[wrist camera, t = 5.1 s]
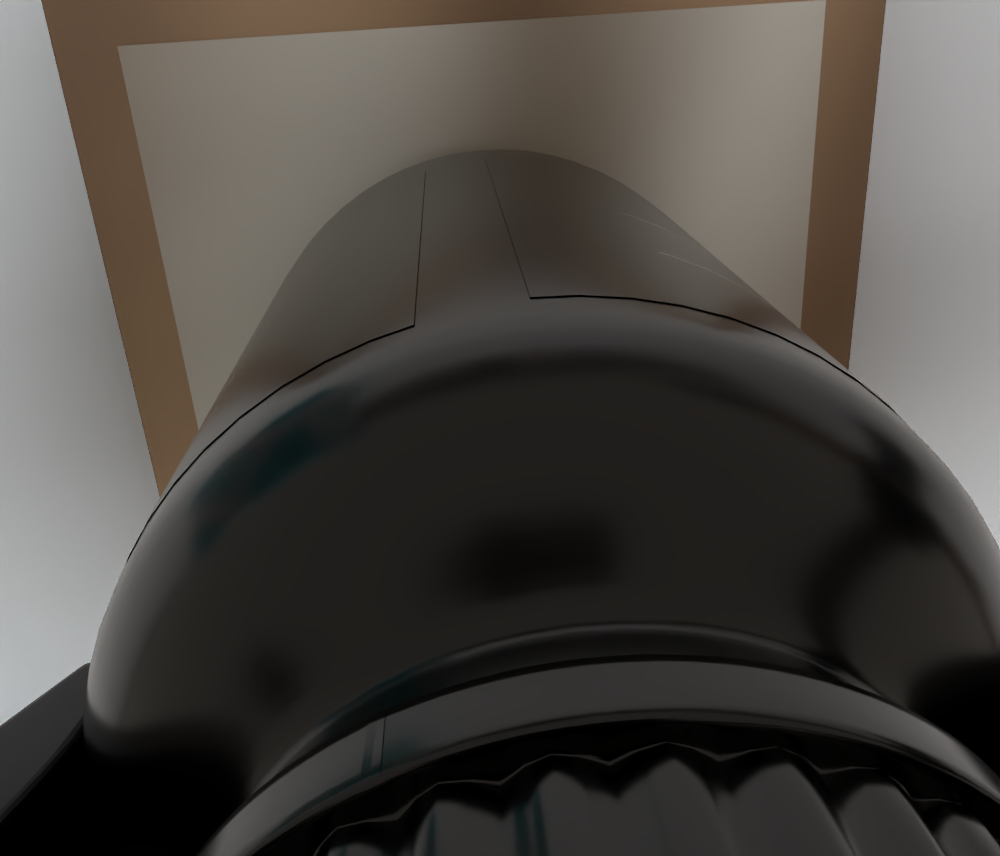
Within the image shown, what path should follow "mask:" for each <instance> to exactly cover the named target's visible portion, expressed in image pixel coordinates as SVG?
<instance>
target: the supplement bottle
mask: <svg viewBox="0 0 1000 856" xmlns="http://www.w3.org/2000/svg"><path fill="white" fill-rule="evenodd" d="M83 732H84V764H85V774H86V781H87V787H88V794H89V801H90V807H91V812H92V817H93V822H94V825H95V829H96V832H97V836H98V839H99V843H100V846H101V850H102V853H103V856H1000V550H999V547H998V545H997V543H996V541H995V539H994V537H993V535H992V534H991V532H990V530H989V528H988V526H987V525H986V523H985V521H984V519H983V518H982V516H981V514H980V512H979V511H978V509H977V507H976V505H975V503H974V502H973V500H972V499H971V497H970V496H969V495H968V493H967V492H966V491H965V489H964V488H963V487H962V485H961V484H960V483H959V481H958V480H957V479H956V477H955V476H954V475H953V473H952V472H951V471H950V469H949V468H948V467H947V466H946V465H945V463H944V462H943V461H942V460H941V459H940V458H939V457H938V456H937V455H936V454H935V453H934V452H933V450H932V449H931V448H930V447H929V446H928V445H927V444H926V443H925V442H924V441H923V440H922V439H921V438H920V437H919V436H918V435H917V434H916V433H915V432H914V431H913V430H912V429H911V428H910V427H909V426H908V425H907V424H906V422H905V421H903V420H902V419H901V418H900V417H899V416H898V414H897V413H896V412H895V411H894V410H893V409H892V408H891V407H890V406H889V405H888V404H887V403H885V402H884V401H883V400H882V399H881V398H880V397H879V396H878V395H876V394H875V393H874V392H873V391H872V390H871V389H869V388H868V387H867V386H866V385H865V384H864V383H862V382H861V381H860V380H859V379H858V378H857V377H855V376H854V375H853V374H852V373H851V372H850V371H848V370H847V369H846V368H845V367H844V366H843V365H841V364H840V363H839V362H838V361H837V360H836V359H834V358H833V357H832V356H831V355H830V354H829V353H827V352H826V351H825V350H824V349H823V348H822V347H820V346H819V345H818V344H817V343H816V342H814V341H813V340H812V339H811V338H810V337H809V336H807V335H806V334H805V333H804V332H803V331H802V330H800V329H799V328H798V327H797V326H796V325H795V324H793V323H792V322H791V321H790V320H789V319H788V318H786V317H785V316H784V315H783V314H782V313H780V312H779V311H778V310H777V309H776V308H775V307H773V306H772V305H771V304H770V303H769V302H768V301H766V300H765V299H764V298H763V297H762V296H761V295H759V294H758V293H757V292H756V291H755V290H753V289H752V288H751V287H750V286H749V285H748V284H746V283H745V282H744V281H743V280H742V279H741V278H739V277H738V276H737V275H736V274H735V273H734V272H732V271H731V270H730V269H729V268H728V267H727V266H725V265H724V264H723V263H722V262H721V261H719V260H718V259H717V258H716V257H715V256H714V255H712V254H711V253H710V252H709V251H708V250H707V249H705V248H704V247H703V246H702V245H701V244H700V243H698V242H697V241H696V240H695V239H694V238H693V237H691V236H690V235H689V234H688V233H687V232H685V231H684V230H683V229H682V228H681V227H680V226H678V225H677V224H676V223H675V222H674V221H673V220H671V219H670V218H669V217H668V216H666V215H665V214H664V213H663V212H662V211H660V210H659V209H658V208H657V207H655V206H654V205H653V204H651V203H650V202H648V201H647V200H646V199H645V198H643V197H642V196H641V195H639V194H638V193H636V192H635V191H633V190H632V189H630V188H628V187H627V186H625V185H624V184H622V183H621V182H619V181H617V180H615V179H613V178H611V177H609V176H608V175H606V174H604V173H602V172H600V171H598V170H595V169H592V168H590V167H587V166H585V165H582V164H580V163H577V162H574V161H571V160H567V159H564V158H560V157H556V156H553V155H548V154H542V153H536V152H530V151H521V150H505V149H497V150H476V151H469V152H462V153H455V154H450V155H446V156H442V157H438V158H434V159H430V160H427V161H424V162H421V163H419V164H416V165H413V166H410V167H408V168H405V169H403V170H401V171H399V172H397V173H395V174H393V175H391V176H388V177H386V178H384V179H383V180H381V181H379V182H378V183H376V184H375V185H373V186H371V187H370V188H368V189H366V190H365V191H363V192H362V193H361V194H359V195H358V196H357V197H355V198H354V199H353V200H352V201H350V202H349V203H348V204H346V205H345V206H344V207H343V208H341V209H340V210H339V211H338V212H337V213H336V214H335V215H334V216H333V217H332V218H331V219H330V220H329V221H328V222H327V223H326V224H325V225H324V226H323V227H322V228H321V229H320V230H319V232H318V233H317V234H316V235H315V236H314V237H313V239H312V240H311V241H310V242H309V243H308V245H307V246H306V248H305V249H304V251H303V252H302V254H301V255H300V256H299V258H298V259H297V261H296V262H295V264H294V265H293V267H292V268H291V270H290V271H289V273H288V274H287V276H286V277H285V279H284V281H283V283H282V284H281V286H280V288H279V290H278V291H277V293H276V295H275V297H274V298H273V300H272V302H271V304H270V305H269V307H268V309H267V311H266V312H265V314H264V316H263V318H262V319H261V321H260V323H259V325H258V327H257V328H256V330H255V332H254V334H253V335H252V337H251V339H250V341H249V342H248V344H247V346H246V348H245V349H244V351H243V353H242V355H241V356H240V358H239V360H238V362H237V363H236V365H235V367H234V369H233V371H232V372H231V374H230V376H229V378H228V379H227V381H226V383H225V385H224V386H223V388H222V390H221V392H220V393H219V395H218V397H217V399H216V400H215V402H214V404H213V406H212V407H211V409H210V411H209V413H208V415H207V416H206V418H205V420H204V422H203V423H202V425H201V427H200V429H199V430H198V432H197V434H196V436H195V437H194V439H193V441H192V443H191V444H190V446H189V448H188V450H187V451H186V453H185V455H184V457H183V459H182V460H181V462H180V464H179V466H178V467H177V469H176V471H175V473H174V474H173V476H172V478H171V480H170V482H169V483H168V485H167V487H166V489H165V490H164V492H163V494H162V496H161V497H160V499H159V501H158V503H157V505H156V507H155V508H154V510H153V512H152V514H151V516H150V518H149V520H148V521H147V523H146V525H145V527H144V529H143V531H142V533H141V534H140V536H139V538H138V540H137V542H136V544H135V546H134V547H133V549H132V551H131V553H130V555H129V557H128V560H127V562H126V565H125V567H124V569H123V571H122V573H121V576H120V578H119V580H118V583H117V585H116V588H115V590H114V593H113V595H112V598H111V600H110V603H109V605H108V608H107V611H106V613H105V616H104V618H103V621H102V623H101V626H100V628H99V632H98V636H97V640H96V644H95V648H94V652H93V656H92V660H91V664H90V668H89V675H88V683H87V692H86V700H85V709H84V718H83Z"/></svg>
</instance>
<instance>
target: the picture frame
mask: <svg viewBox="0 0 1000 856" xmlns="http://www.w3.org/2000/svg"><path fill="white" fill-rule="evenodd" d="M41 1H42V5H43V9H44V13H45V18H46V22H47V26H48V30H49V34H50V39H51V43H52V47H53V51H54V55H55V60H56V64H57V68H58V72H59V76H60V80H61V85H62V89H63V93H64V97H65V101H66V106H67V110H68V114H69V118H70V122H71V127H72V131H73V135H74V139H75V143H76V148H77V152H78V156H79V160H80V164H81V168H82V173H83V177H84V181H85V185H86V189H87V194H88V198H89V202H90V206H91V210H92V215H93V219H94V223H95V227H96V231H97V235H98V240H99V244H100V248H101V252H102V256H103V261H104V265H105V269H106V273H107V277H108V282H109V286H110V290H111V294H112V298H113V303H114V307H115V311H116V315H117V319H118V323H119V328H120V332H121V336H122V340H123V344H124V349H125V353H126V357H127V361H128V365H129V370H130V374H131V378H132V382H133V386H134V391H135V395H136V399H137V403H138V407H139V411H140V416H141V420H142V424H143V428H144V432H145V437H146V441H147V445H148V449H149V453H150V458H151V462H152V466H153V470H154V474H155V478H156V483H157V487H158V491H159V495H160V497H161V496H162V494H163V492H164V490H165V489H166V487H167V485H168V483H169V482H170V480H171V478H172V476H173V474H174V473H175V471H176V469H177V467H178V466H179V464H180V462H181V460H182V459H183V457H184V455H185V453H186V451H187V450H188V448H189V446H190V444H191V443H192V441H193V439H194V437H195V436H196V434H197V432H198V430H199V429H200V427H201V425H202V423H203V422H204V420H205V418H206V416H207V415H208V413H209V411H210V409H211V407H212V406H213V404H214V402H215V400H216V399H217V397H218V395H219V393H220V392H221V390H222V388H223V386H224V385H225V383H226V381H227V379H228V378H229V376H230V374H231V372H232V371H233V369H234V367H235V365H236V363H237V362H238V360H239V358H240V356H241V355H242V353H243V351H244V349H245V348H246V346H247V344H248V342H249V341H250V339H251V337H252V335H253V334H254V332H255V330H256V328H257V327H258V325H259V323H260V321H261V319H262V318H263V316H264V314H265V312H266V311H267V309H268V307H269V305H270V304H271V302H272V300H273V298H274V297H275V295H276V293H277V291H278V290H279V288H280V286H281V284H282V283H283V281H284V279H285V277H286V276H287V274H288V273H289V271H290V270H291V268H292V267H293V265H294V264H295V262H296V261H297V259H298V258H299V256H300V255H301V254H302V252H303V251H304V249H305V248H306V246H307V245H308V243H309V242H310V241H311V240H312V239H313V237H314V236H315V235H316V234H317V233H318V232H319V230H320V229H321V228H322V227H323V226H324V225H325V224H326V223H327V222H328V221H329V220H330V219H331V218H332V217H333V216H334V215H335V214H336V213H337V212H338V211H339V210H340V209H341V208H343V207H344V206H345V205H346V204H348V203H349V202H350V201H352V200H353V199H354V198H355V197H357V196H358V195H359V194H361V193H362V192H363V191H365V190H366V189H368V188H370V187H371V186H373V185H375V184H376V183H378V182H379V181H381V180H383V179H384V178H386V177H388V176H391V175H393V174H395V173H397V172H399V171H401V170H403V169H405V168H408V167H410V166H413V165H416V164H419V163H421V162H424V161H427V160H430V159H434V158H438V157H442V156H446V155H450V154H455V153H462V152H469V151H476V150H497V149H505V150H521V151H530V152H536V153H542V154H548V155H553V156H556V157H560V158H564V159H567V160H571V161H574V162H577V163H580V164H582V165H585V166H587V167H590V168H592V169H595V170H598V171H600V172H602V173H604V174H606V175H608V176H609V177H611V178H613V179H615V180H617V181H619V182H621V183H622V184H624V185H625V186H627V187H628V188H630V189H632V190H633V191H635V192H636V193H638V194H639V195H641V196H642V197H643V198H645V199H646V200H647V201H648V202H650V203H651V204H653V205H654V206H655V207H657V208H658V209H659V210H660V211H662V212H663V213H664V214H665V215H666V216H668V217H669V218H670V219H671V220H673V221H674V222H675V223H676V224H677V225H678V226H680V227H681V228H682V229H683V230H684V231H685V232H687V233H688V234H689V235H690V236H691V237H693V238H694V239H695V240H696V241H697V242H698V243H700V244H701V245H702V246H703V247H704V248H705V249H707V250H708V251H709V252H710V253H711V254H712V255H714V256H715V257H716V258H717V259H718V260H719V261H721V262H722V263H723V264H724V265H725V266H727V267H728V268H729V269H730V270H731V271H732V272H734V273H735V274H736V275H737V276H738V277H739V278H741V279H742V280H743V281H744V282H745V283H746V284H748V285H749V286H750V287H751V288H752V289H753V290H755V291H756V292H757V293H758V294H759V295H761V296H762V297H763V298H764V299H765V300H766V301H768V302H769V303H770V304H771V305H772V306H773V307H775V308H776V309H777V310H778V311H779V312H780V313H782V314H783V315H784V316H785V317H786V318H788V319H789V320H790V321H791V322H792V323H793V324H795V325H796V326H797V327H798V328H799V329H800V330H802V331H803V332H804V333H805V334H806V335H807V336H809V337H810V338H811V339H812V340H813V341H814V342H816V343H817V344H818V345H819V346H820V347H822V348H823V349H824V350H825V351H826V352H827V353H829V354H830V355H831V356H832V357H833V358H834V359H836V360H837V361H838V362H839V363H840V364H841V365H843V366H844V367H845V368H846V369H847V370H848V367H849V358H850V348H851V338H852V328H853V318H854V309H855V299H856V289H857V279H858V269H859V259H860V250H861V240H862V230H863V220H864V210H865V201H866V191H867V181H868V171H869V161H870V152H871V142H872V132H873V122H874V112H875V102H876V93H877V83H878V73H879V63H880V53H881V44H882V34H883V24H884V14H885V4H886V0H41Z"/></svg>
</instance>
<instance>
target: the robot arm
mask: <svg viewBox="0 0 1000 856" xmlns="http://www.w3.org/2000/svg"><path fill="white" fill-rule="evenodd" d="M90 664H91V662H90V663H87V664H85V665H83V666H82V667H80V668H79V669H77V670H76V671H74V672H73V673H72V674H70V675H69V676H68V677H66V678H65V679H64V680H62V681H61V682H59V683H58V684H57V685H55V686H54V687H53V688H51V689H50V690H49V691H47V692H46V693H44V694H43V695H42V696H40V697H39V698H38V699H36V700H35V701H34V702H32V703H31V704H29V705H28V706H27V707H25V708H24V709H23V710H21V711H20V712H19V713H17V714H16V715H14V716H13V717H12V718H10V719H9V720H8V721H6V722H5V723H4V724H2V725H1V726H0V856H103V853H102V850H101V846H100V843H99V839H98V836H97V832H96V829H95V825H94V822H93V817H92V812H91V807H90V801H89V794H88V787H87V781H86V774H85V764H84V732H83V718H84V709H85V700H86V692H87V683H88V675H89V668H90Z"/></svg>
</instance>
